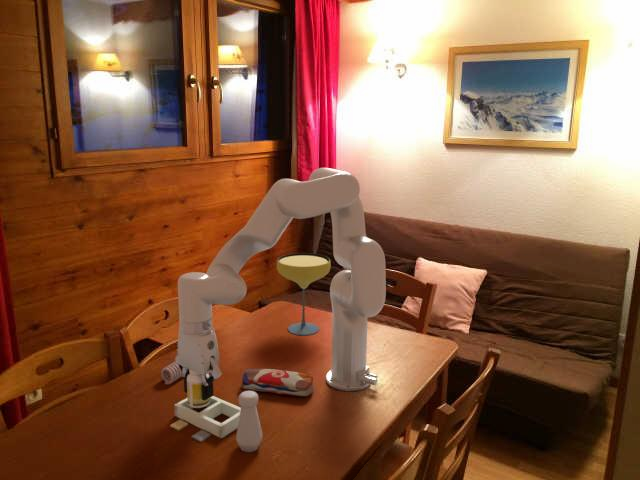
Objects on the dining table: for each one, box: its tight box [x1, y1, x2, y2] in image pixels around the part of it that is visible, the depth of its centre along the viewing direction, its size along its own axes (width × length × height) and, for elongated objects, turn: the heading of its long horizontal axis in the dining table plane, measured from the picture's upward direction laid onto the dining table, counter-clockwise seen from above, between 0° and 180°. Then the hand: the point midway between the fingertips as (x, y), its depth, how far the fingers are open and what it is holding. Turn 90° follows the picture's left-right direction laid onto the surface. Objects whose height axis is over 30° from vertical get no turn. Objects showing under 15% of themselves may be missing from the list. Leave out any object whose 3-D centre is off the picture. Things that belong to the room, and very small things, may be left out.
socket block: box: [173, 395, 241, 439], centre depth 128 cm, size 16×8×3 cm, turn 55°
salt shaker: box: [235, 390, 263, 453], centre depth 116 cm, size 6×6×13 cm
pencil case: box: [241, 368, 315, 398], centre depth 142 cm, size 11×20×5 cm, turn 62°
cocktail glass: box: [276, 252, 332, 336], centre depth 180 cm, size 18×18×25 cm
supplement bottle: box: [186, 369, 210, 409], centre depth 129 cm, size 5×5×10 cm
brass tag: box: [169, 419, 189, 432], centre depth 125 cm, size 3×3×1 cm
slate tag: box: [191, 429, 212, 443], centre depth 121 cm, size 3×3×1 cm
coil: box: [160, 360, 183, 385], centre depth 152 cm, size 5×5×18 cm
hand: (198, 393), depth 129 cm, fingers closed on supplement bottle, 5 cm apart
